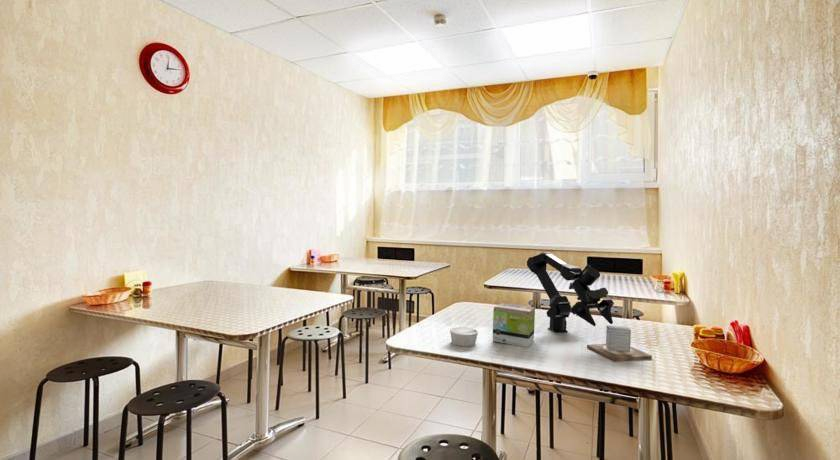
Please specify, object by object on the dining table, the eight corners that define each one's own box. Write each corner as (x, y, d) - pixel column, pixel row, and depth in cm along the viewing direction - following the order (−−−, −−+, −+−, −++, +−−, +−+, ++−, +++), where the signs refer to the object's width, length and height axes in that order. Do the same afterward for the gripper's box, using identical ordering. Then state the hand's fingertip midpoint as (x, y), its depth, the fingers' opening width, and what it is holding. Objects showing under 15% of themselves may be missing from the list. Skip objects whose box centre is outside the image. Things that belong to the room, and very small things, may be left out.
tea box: (491, 342, 174) (492, 306, 173) (499, 336, 183) (500, 302, 182) (528, 348, 167) (529, 310, 166) (534, 341, 176) (535, 306, 175)
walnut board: (614, 361, 153) (614, 357, 153) (586, 347, 169) (587, 344, 168) (651, 358, 157) (651, 355, 157) (621, 345, 172) (621, 342, 172)
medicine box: (627, 348, 164) (628, 326, 164) (630, 352, 160) (631, 329, 159) (605, 347, 166) (606, 325, 165) (608, 350, 161) (608, 328, 161)
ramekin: (476, 348, 165) (476, 335, 165) (448, 346, 167) (448, 333, 167) (478, 340, 176) (478, 328, 176) (451, 338, 178) (451, 326, 178)
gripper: (577, 282, 169) (598, 315, 160) (611, 279, 177) (633, 311, 167) (562, 297, 177) (581, 330, 167) (595, 294, 185) (615, 326, 175)
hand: (603, 324), depth 169 cm, fingers open, 9 cm apart
